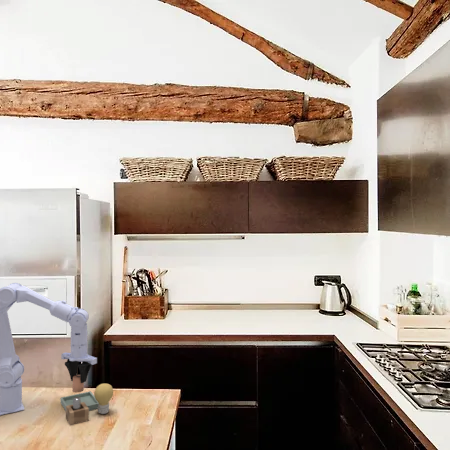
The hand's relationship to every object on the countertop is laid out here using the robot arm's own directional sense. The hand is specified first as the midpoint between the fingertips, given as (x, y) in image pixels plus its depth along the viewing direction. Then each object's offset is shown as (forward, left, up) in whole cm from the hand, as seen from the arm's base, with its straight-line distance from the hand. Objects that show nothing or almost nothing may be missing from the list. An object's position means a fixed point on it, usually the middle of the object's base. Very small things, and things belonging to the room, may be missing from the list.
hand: (78, 381), depth 150 cm
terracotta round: (0, 0, -3) cm, 3 cm away
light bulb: (+10, +6, -9) cm, 15 cm away
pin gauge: (+10, -3, -9) cm, 14 cm away
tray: (0, +1, -9) cm, 9 cm away
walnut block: (+10, -3, -9) cm, 14 cm away
